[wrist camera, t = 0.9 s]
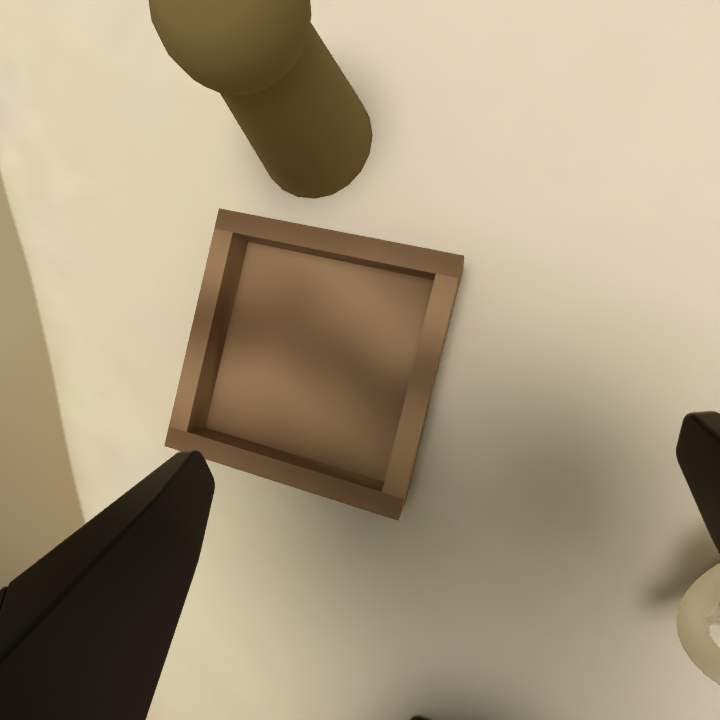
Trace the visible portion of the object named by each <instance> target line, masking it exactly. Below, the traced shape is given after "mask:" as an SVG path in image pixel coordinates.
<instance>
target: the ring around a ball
mask: <svg viewBox="0 0 720 720" xmlns="http://www.w3.org/2000/svg"><path fill="white" fill-rule="evenodd" d="M719 604H720V563H719V564H717V565H716V566H714V567H712V568H711V569H709V570H708V571H706V572H705V573H704V574H703V575H702V576H700V577H699V578H698V579H697V580H696V581H695V582H694V583H693V584H692V585H691V586H690V587H689V589H688V590H687V592H686V593H685V595H684V596H683V598H682V600H681V603H680V605H679V608H678V613H677V621H676V622H677V631H678V636H679V638H680V641H681V644H682V646H683V648H684V650H685V651H686V653H687V655H688V656H689V658H690V659H691V661H692V662H693V663H694V664H695V665H696V666H697V667H698V668H699V669H700V670H701V671H702V672H703V673H704V674H705V675H706V676H708V677H709V678H710V679H712V680H713V681H715V682H716V683H717V684H719V685H720V648H719V647H718V646H717V645H716V644H715V642H714V641H713V640H712V637H711V635H710V631H709V625H715V624H720V615H717V616H712V614H713V613H714V611H715V609H716V608H717V606H718V605H719Z"/></svg>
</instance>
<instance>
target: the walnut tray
mask: <svg viewBox="0 0 720 720" xmlns="http://www.w3.org/2000/svg"><path fill="white" fill-rule="evenodd" d="M463 263H464V256H462V255H457V254H452V253H447V252H442V251H437V250H431V249H426V248H421V247H416V246H411V245H405V244H400V243H395V242H390V241H385V240H380V239H374V238H369V237H364V236H359V235H354V234H348V233H343V232H338V231H333V230H328V229H322V228H317V227H312V226H307V225H302V224H297V223H291V222H286V221H281V220H276V219H271V218H265V217H260V216H255V215H250V214H245V213H240V212H234V211H229V210H224V209H219V211H218V216H217V220H216V224H215V229H214V233H213V237H212V242H211V246H210V250H209V255H208V259H207V263H206V268H205V272H204V276H203V281H202V285H201V289H200V294H199V298H198V303H197V307H196V311H195V316H194V320H193V324H192V329H191V333H190V337H189V342H188V346H187V350H186V355H185V359H184V363H183V368H182V372H181V376H180V381H179V385H178V389H177V394H176V398H175V402H174V407H173V411H172V416H171V420H170V424H169V429H168V433H167V437H166V442H165V446H166V447H169V448H173V449H176V450H179V451H191V450H197V451H199V452H201V453H202V455H203V457H204V459H207V460H210V461H213V462H216V463H220V464H223V465H226V466H229V467H232V468H235V469H238V470H242V471H245V472H248V473H251V474H254V475H257V476H260V477H264V478H267V479H270V480H273V481H276V482H279V483H282V484H285V485H289V486H292V487H295V488H298V489H301V490H304V491H307V492H311V493H314V494H317V495H320V496H323V497H326V498H329V499H332V500H336V501H339V502H342V503H345V504H348V505H351V506H354V507H358V508H361V509H364V510H367V511H370V512H373V513H376V514H380V515H383V516H386V517H389V518H392V519H395V520H399V517H400V514H401V512H402V509H403V506H404V504H405V500H406V496H407V491H408V487H409V483H410V479H411V475H412V471H413V467H414V463H415V459H416V455H417V451H418V447H419V443H420V439H421V435H422V431H423V427H424V423H425V419H426V415H427V411H428V407H429V403H430V399H431V395H432V391H433V387H434V383H435V379H436V375H437V371H438V367H439V363H440V359H441V355H442V351H443V347H444V343H445V339H446V335H447V331H448V327H449V323H450V319H451V315H452V311H453V307H454V303H455V299H456V295H457V291H458V287H459V283H460V279H461V275H462V271H463Z"/></svg>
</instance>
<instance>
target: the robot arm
mask: <svg viewBox="0 0 720 720" xmlns="http://www.w3.org/2000/svg"><path fill="white" fill-rule="evenodd" d="M676 456H677V460H678V463H679V465H680V467H681V470H682V472H683V474H684V477H685V479H686V481H687V483H688V486H689V488H690V490H691V493H692V495H693V497H694V499H695V502H696V504H697V506H698V509H699V511H700V513H701V516H702V518H703V520H704V522H705V525H706V527H707V529H708V531H709V534H710V536H711V538H712V540H713V542H714V544H715V546H716V548H717V549H718V551H719V553H720V413H717V412H714V411H705V412H692V413H689V414H687V415H686V416H685V417H684V419H683V422H682V426H681V430H680V434H679V439H678V443H677V447H676ZM214 489H215V482H214V478H213V475H212V473H211V471H210V469H209V467H208V465H207V463H206V461H205V459H204V457H203V455H202V453H201V452H199V451H197V450H191V451H181V452H178V453H176V454H175V455H174V456H173V457H171V458H170V459H169V460H167V461H166V462H165V463H163V464H162V465H161V466H160V467H158V468H157V469H156V470H154V471H153V472H152V473H151V474H149V475H148V476H147V477H145V478H144V479H143V480H142V481H140V482H139V483H138V484H136V485H135V486H134V487H133V488H131V489H130V490H129V491H127V492H126V493H125V494H124V495H122V496H121V497H120V498H118V499H117V500H116V501H114V502H113V503H112V504H111V505H109V506H108V507H107V508H105V509H104V510H103V511H102V512H100V513H99V514H98V515H96V516H95V517H94V518H93V519H91V520H90V521H89V522H87V523H86V524H85V525H84V526H82V527H81V528H80V529H78V530H77V531H76V532H74V533H73V534H72V535H71V536H69V537H68V538H67V539H65V540H64V541H63V542H62V543H60V544H59V545H58V546H56V547H55V548H54V549H53V550H52V551H50V552H49V553H47V554H46V555H45V556H44V557H42V558H41V559H40V560H38V561H37V562H36V563H35V564H34V565H32V566H31V567H29V568H28V569H27V570H25V571H24V572H23V573H22V574H20V575H19V576H18V577H17V578H15V579H14V580H13V581H11V582H10V583H9V586H6V587H3V588H2V589H1V590H0V720H146V717H147V714H148V711H149V708H150V705H151V702H152V699H153V696H154V693H155V690H156V687H157V684H158V681H159V678H160V675H161V672H162V669H163V666H164V663H165V660H166V657H167V654H168V651H169V648H170V645H171V642H172V639H173V636H174V633H175V630H176V627H177V624H178V621H179V618H180V615H181V612H182V609H183V606H184V603H185V600H186V597H187V594H188V591H189V588H190V585H191V582H192V579H193V576H194V573H195V570H196V566H197V563H198V560H199V556H200V552H201V548H202V544H203V539H204V535H205V530H206V526H207V521H208V517H209V512H210V508H211V503H212V499H213V494H214ZM412 720H423V719H421V718H413V719H412Z"/></svg>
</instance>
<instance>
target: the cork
mask: <svg viewBox="0 0 720 720" xmlns="http://www.w3.org/2000/svg"><path fill="white" fill-rule="evenodd" d="M149 6H150V13H151V20H152V22H153V25H154V27H155V29H156V31H157V33H158V35H159V37H160V39H161V41H162V43H163V45H164V47H165V49H166V51H167V53H168V54H169V56H170V57H171V58H172V59H173V60H174V61H175V62H176V63H177V64H178V65H179V66H180V67H181V68H182V69H183V70H184V71H185V72H186V73H187V74H188V75H189V76H190V77H191V78H192V79H193V80H195V81H196V82H198V83H200V84H202V85H203V86H205V87H207V88H210V89H212V90H214V91H217V92H219V93H220V94H221V96H222V97H223V99H224V100H225V102H226V104H227V105H228V107H229V109H230V110H231V112H232V114H233V115H234V117H235V119H236V120H237V122H238V124H239V125H240V127H241V129H242V130H243V132H244V134H245V135H246V137H247V139H248V140H249V142H250V143H251V145H252V147H253V148H254V150H255V152H256V153H257V155H258V157H259V158H260V160H261V162H262V163H263V165H264V167H265V168H266V170H267V172H268V173H269V175H270V177H271V178H272V179H273V180H274V181H275V182H276V183H277V184H278V185H279V186H280V187H281V188H282V189H283V190H285V191H287V192H289V193H291V194H293V195H296V196H298V197H306V198H319V197H323V196H327V195H331V194H334V193H335V192H337V191H339V190H340V189H342V188H344V187H346V186H347V185H349V184H350V182H351V181H352V180H353V179H354V178H355V177H356V176H357V175H358V174H359V173H360V172H361V170H362V168H363V166H364V164H365V162H366V160H367V158H368V156H369V153H370V147H371V141H372V130H371V124H370V117H369V116H368V114H367V112H366V110H365V108H364V106H363V104H362V102H361V101H360V99H359V98H358V96H357V94H356V93H355V91H354V90H353V88H352V87H351V85H350V83H349V82H348V80H347V79H346V77H345V76H344V74H343V72H342V71H341V69H340V68H339V66H338V65H337V63H336V61H335V60H334V58H333V57H332V55H331V54H330V52H329V50H328V49H327V47H326V46H325V44H324V43H323V41H322V39H321V38H320V36H319V35H318V33H317V32H316V30H315V28H314V27H313V25H312V24H311V22H310V20H311V5H310V0H149Z"/></svg>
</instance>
